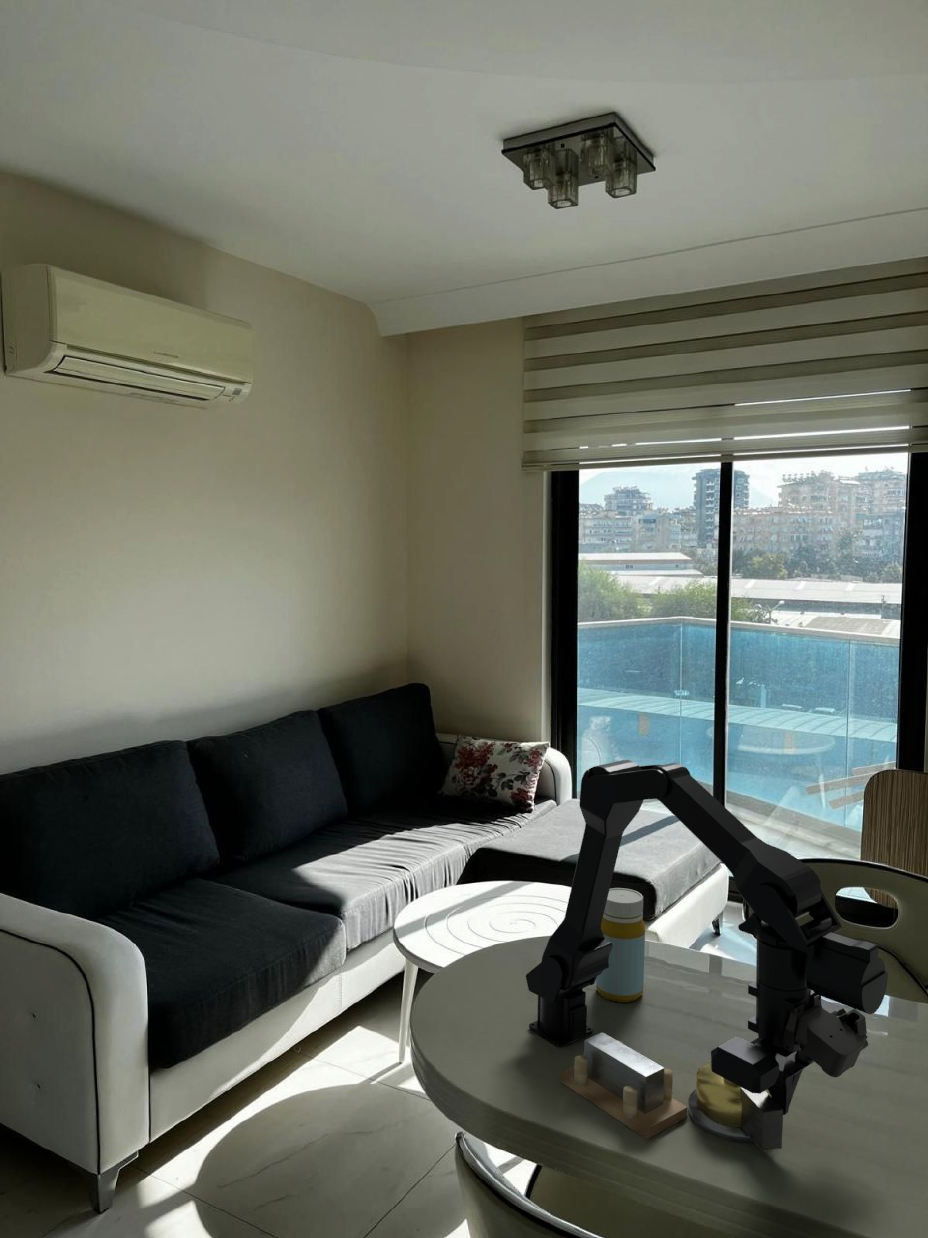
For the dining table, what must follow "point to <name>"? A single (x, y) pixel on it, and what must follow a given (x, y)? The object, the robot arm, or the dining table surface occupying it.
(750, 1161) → the dining table surface
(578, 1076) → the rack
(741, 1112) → the brass disc with block
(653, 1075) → the long grey slab
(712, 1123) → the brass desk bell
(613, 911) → the bottle
